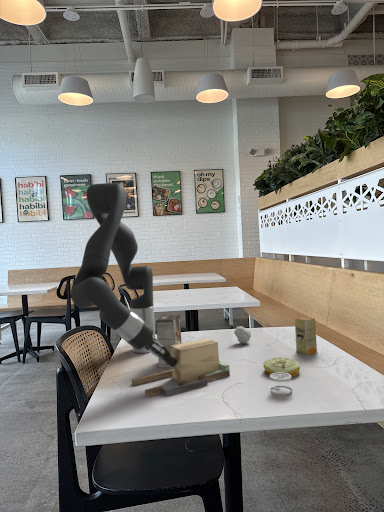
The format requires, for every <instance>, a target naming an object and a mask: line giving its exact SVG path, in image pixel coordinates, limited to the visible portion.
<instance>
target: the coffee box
mask: <svg viewBox="0 0 384 512" xmlns="http://www.w3.org/2000/svg"><path fill="white" fill-rule="evenodd" d="M181 330H182V329H181V315H180V314H166V315H162V316H160V317H159V318H157V319H156V320H155V331H156V339H157V340H158V341H159V342H160V344H161V345H163V346H164V347H166V349H167V350H168V351H169V352H170V354H171V345H176V344H181V343H182V331H181ZM157 358H158V357H157ZM157 360H158V361H157V362H158V368H172V366H170V365H169V364H168V363H166V362H165V361H163V360H162V359H160V358H158V359H157Z"/></svg>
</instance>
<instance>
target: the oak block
mask: <svg viewBox="0 0 384 512" xmlns="http://www.w3.org/2000/svg"><path fill="white" fill-rule="evenodd" d="M171 356H172V357H173V358H174V359H175V360H177V364H176V365H175V366H174V367H171V370H172V379H174V380H175V381H177V382H178V381H182V380H185V381H186V383H187V384H188V383H192V382H195V381H199V376H201V375H203V374H206V373H210V372H214V371H218V370H219V361H220V357H219V342H218V341H215V340H212V339H210V338H201V339H197V340H192V341H186V342H181V344H176V345H171Z"/></svg>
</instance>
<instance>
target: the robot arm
mask: <svg viewBox="0 0 384 512" xmlns="http://www.w3.org/2000/svg"><path fill="white" fill-rule="evenodd" d="M123 185H124V184H121V183H119V182H108V183H94V184H91V185H89V186H88V188H87V190H86V202H87V204H88V207H89V209H90V211H91V214H93V217H94V218H95V220H96V221H97V223H98V225H99V226H98V228H97V229H96V230H95V231H94V232H93V234H92V235H91V236H90V237H89V239H88V241H86V242H87V243H86V244H85V248H84V252H83V257H82V262H81V266H80V268H79V270H78V273H77V274H76V276H75V279H74V281H73V283H72V284H73V285H72V286H71V287H72V288H71V292H70V293H71V294H70V295H71V296H70V297H71V301H72V303H73V304H74V305H75V307H78V308H80V309H87V308H90V307H93V306H96V307H97V308H98V310H100V311H99V316H98V317H99V319H100V320H101V321H102V322H103V323H104V324H105V325H107V327H109V328H110V329H112V331H114V332H115V333H116V335H117V336H119V337H120V338H121V339H122V340H123V341H124V342H126V343H127V344H128V345H130V346H131V347H132V352H133V353H137V354H147V353H150V354H152V356H155V357H156V358H160V359H162V360H163V361H165V362H166V363H168V364H169V365H170V366H172V367H174V366H175V365H176V364H177V360H175V359H174V358H173V357H172V356H171V354H170V352H169V351H168V350H167V349H166V347H164V346H163V345H161V344H160V342H159V341H158V340H157V337H156V321H155V311H154V310H155V309H154V306H155V305H154V276H153V275H154V274H153V270H152V267H151V266H149V265H141V266H140V265H139V266H137V265H136V266H132V265H131V264H132V262H133V260H134V259H135V257H136V255H137V253H138V247H139V246H138V243H137V240H136V236H135V234H134V232H133V231H132V229H131V228H130V227H128V226H127V224H125V223H123V222H122V221H121V220H122V218H123V217H124V216H123V215H124V212H125V210H126V205H127V193H126V189H125V187H124V186H123ZM111 252H112V254H113V256H114V258H115V260H116V262H117V265H118V267H119V270H120V273H121V276H122V279H123V282H124V285H125V287H126V288H127V289H128V290H129V291H139V290H140V291H141V290H142V291H143V292H142V294H141V295H139V296H138V297H136V298H133V299H131V300H130V301H129V308H128V307H127V306H126V305H125V304H123V303H122V302H121V301H120V300H119V298H118V296H117V295H116V294H115V292H114V290H112V288H111V287H110V285H109V284H108V283H107V282H106V281H105V280H103V279H102V277H103V275H105V273H107V270H108V267H109V263H110V256H111ZM172 367H171V368H172Z"/></svg>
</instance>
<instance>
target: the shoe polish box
mask: <svg viewBox="0 0 384 512" xmlns="http://www.w3.org/2000/svg"><path fill="white" fill-rule="evenodd" d="M316 325H317V324H316V318H313V317H309V316H303V317H296V318H294V330H295V346H296V347H295V349H296V350H295V351H296V353H299V354H302V355H306V356H308V355H312V354H316V353H318V350H317V349H318V348H317V347H318V344H317V328H316V327H317V326H316Z"/></svg>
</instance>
